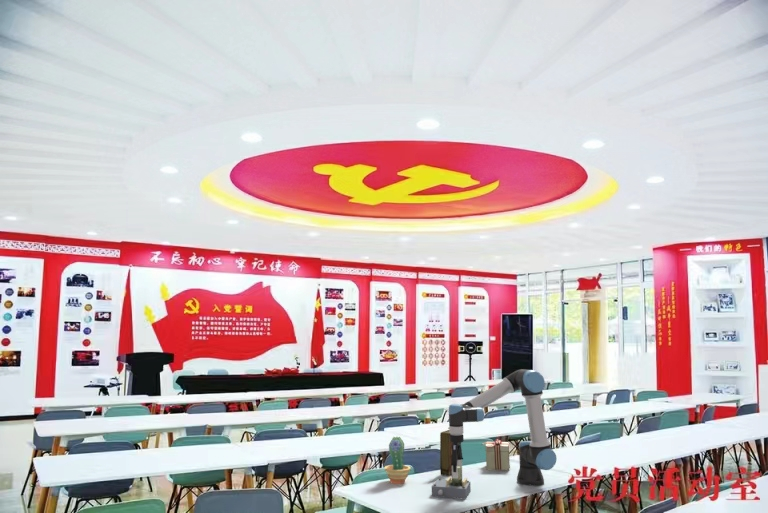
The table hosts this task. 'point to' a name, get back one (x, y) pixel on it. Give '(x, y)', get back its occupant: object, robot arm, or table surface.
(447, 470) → the book
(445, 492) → the grey shallow box
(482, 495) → the table surface
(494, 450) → the gift box
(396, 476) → the potted cactus
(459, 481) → the spout can
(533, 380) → the robot arm
